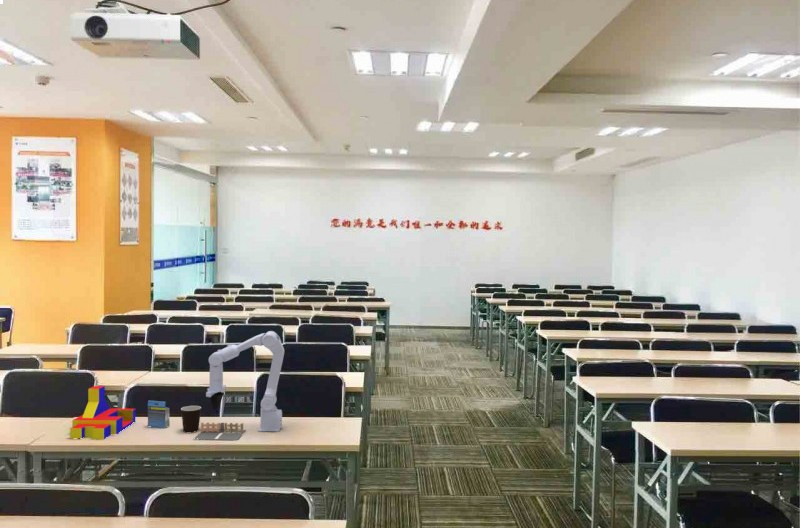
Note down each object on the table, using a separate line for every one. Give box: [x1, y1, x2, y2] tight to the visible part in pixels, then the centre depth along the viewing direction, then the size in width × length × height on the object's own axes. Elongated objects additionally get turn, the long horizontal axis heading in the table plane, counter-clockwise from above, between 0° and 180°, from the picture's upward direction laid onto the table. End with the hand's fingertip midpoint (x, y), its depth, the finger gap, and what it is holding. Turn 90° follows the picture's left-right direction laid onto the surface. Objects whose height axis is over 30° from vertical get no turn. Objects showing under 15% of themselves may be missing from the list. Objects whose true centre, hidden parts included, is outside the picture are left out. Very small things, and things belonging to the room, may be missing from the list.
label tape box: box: [147, 400, 171, 428], centre depth 263 cm, size 9×4×12 cm, turn 82°
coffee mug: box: [180, 405, 202, 433], centre depth 260 cm, size 12×9×10 cm
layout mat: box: [194, 429, 247, 441], centre depth 252 cm, size 19×14×1 cm
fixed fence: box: [219, 422, 244, 433], centre depth 255 cm, size 10×2×4 cm, turn 90°
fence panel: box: [200, 422, 221, 432], centre depth 255 cm, size 8×1×4 cm, turn 90°
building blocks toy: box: [69, 385, 136, 440], centre depth 257 cm, size 19×25×18 cm
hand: (215, 409), depth 259 cm, fingers closed
